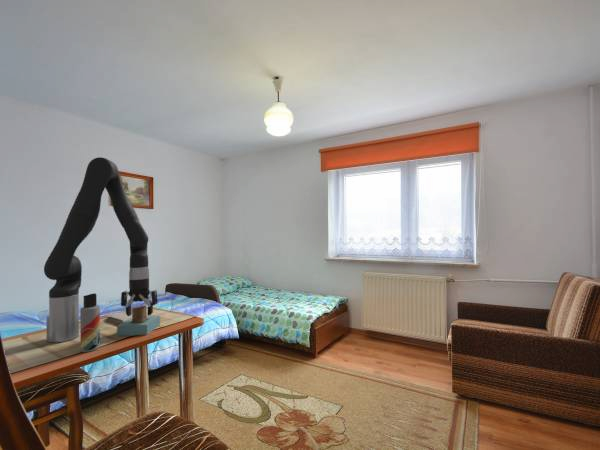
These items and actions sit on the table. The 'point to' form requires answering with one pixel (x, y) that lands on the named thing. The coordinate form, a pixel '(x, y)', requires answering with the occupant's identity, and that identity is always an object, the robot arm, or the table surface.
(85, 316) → the lotion bottle
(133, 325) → the socket block
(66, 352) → the table surface
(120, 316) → the washcloth
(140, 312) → the peg
